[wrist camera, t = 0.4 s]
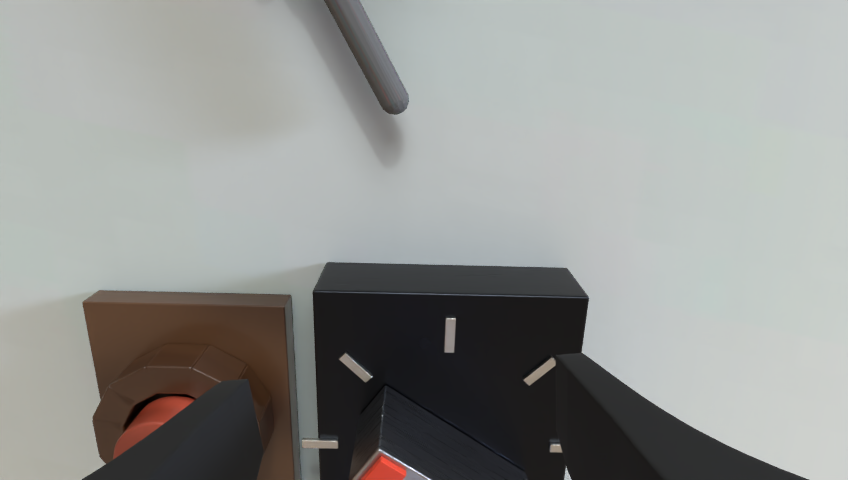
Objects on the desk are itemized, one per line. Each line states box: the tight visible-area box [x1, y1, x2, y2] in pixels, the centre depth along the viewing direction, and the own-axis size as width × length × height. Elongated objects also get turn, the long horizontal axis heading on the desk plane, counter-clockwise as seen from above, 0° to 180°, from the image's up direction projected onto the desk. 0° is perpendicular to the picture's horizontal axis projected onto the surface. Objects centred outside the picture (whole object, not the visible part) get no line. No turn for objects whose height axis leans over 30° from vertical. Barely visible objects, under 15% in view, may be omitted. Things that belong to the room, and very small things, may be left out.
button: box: [113, 396, 196, 459], centre depth 20 cm, size 4×4×2 cm
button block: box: [83, 290, 301, 480], centre depth 22 cm, size 10×8×3 cm
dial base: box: [302, 262, 589, 480], centre depth 22 cm, size 13×11×3 cm
